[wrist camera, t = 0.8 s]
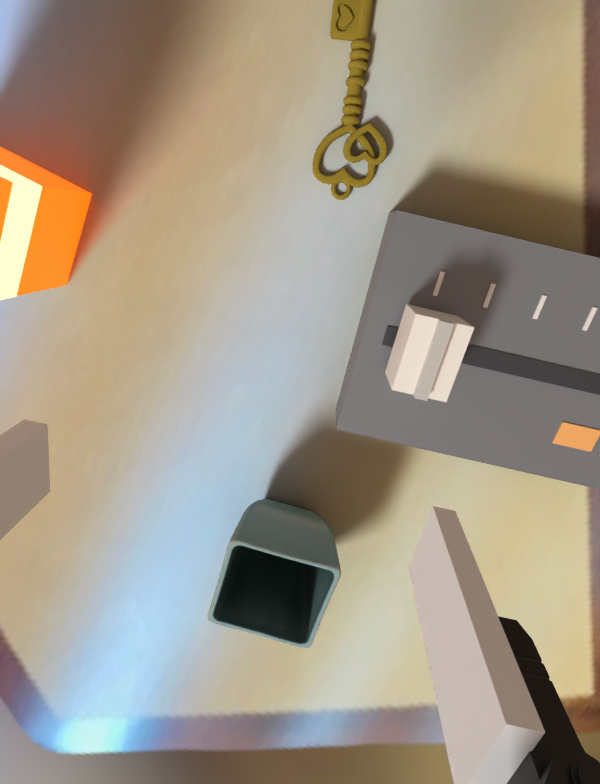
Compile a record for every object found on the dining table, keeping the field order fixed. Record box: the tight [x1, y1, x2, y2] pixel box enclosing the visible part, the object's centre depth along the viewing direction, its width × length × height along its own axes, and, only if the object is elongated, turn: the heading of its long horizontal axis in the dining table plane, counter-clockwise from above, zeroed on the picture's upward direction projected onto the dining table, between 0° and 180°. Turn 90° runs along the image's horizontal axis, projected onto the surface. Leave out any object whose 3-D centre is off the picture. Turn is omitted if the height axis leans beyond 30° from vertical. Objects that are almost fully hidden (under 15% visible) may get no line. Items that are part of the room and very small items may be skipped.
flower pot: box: [208, 499, 341, 648], centre depth 37 cm, size 9×9×9 cm
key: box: [313, 0, 387, 200], centre depth 29 cm, size 12×1×5 cm
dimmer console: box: [336, 210, 600, 489], centre depth 32 cm, size 16×22×4 cm
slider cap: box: [385, 304, 474, 402], centre depth 28 cm, size 5×4×4 cm
